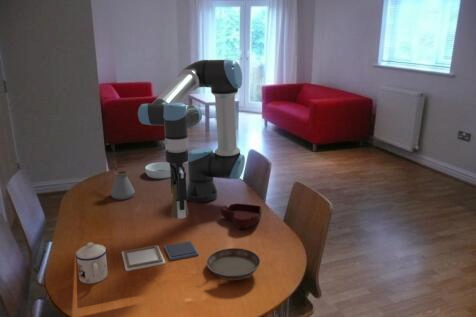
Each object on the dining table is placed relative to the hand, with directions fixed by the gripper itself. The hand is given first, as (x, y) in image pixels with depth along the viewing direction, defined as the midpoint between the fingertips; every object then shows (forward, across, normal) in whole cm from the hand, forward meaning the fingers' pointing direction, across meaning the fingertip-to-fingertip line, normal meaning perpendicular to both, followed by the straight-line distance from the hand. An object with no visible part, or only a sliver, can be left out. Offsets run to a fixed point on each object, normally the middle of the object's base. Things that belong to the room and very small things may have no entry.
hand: (179, 214), depth 143 cm
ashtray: (+15, -17, +32) cm, 39 cm away
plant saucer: (+15, +18, +14) cm, 27 cm away
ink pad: (+14, 0, 0) cm, 14 cm away
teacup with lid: (+15, +8, -30) cm, 34 cm away
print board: (+14, 0, -14) cm, 20 cm away
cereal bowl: (+15, -87, +10) cm, 89 cm away
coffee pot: (+15, -68, -14) cm, 71 cm away
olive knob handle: (0, 0, 0) cm, 1 cm away
